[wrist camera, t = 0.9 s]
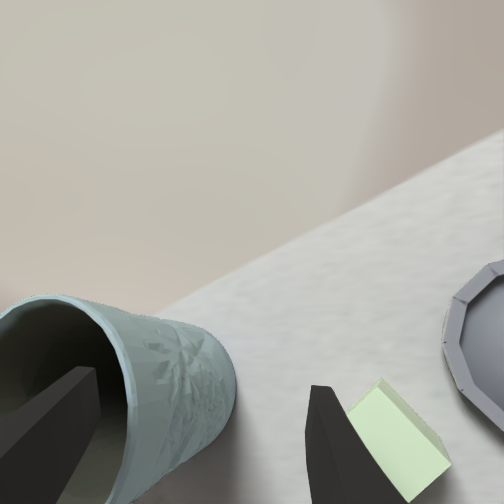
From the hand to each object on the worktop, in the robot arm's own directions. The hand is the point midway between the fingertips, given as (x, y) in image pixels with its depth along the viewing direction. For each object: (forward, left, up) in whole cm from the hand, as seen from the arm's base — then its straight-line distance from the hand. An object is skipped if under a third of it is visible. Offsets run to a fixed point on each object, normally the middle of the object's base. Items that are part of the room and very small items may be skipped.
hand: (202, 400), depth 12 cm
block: (-6, -2, -12) cm, 14 cm away
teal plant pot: (+5, +7, -12) cm, 15 cm away
